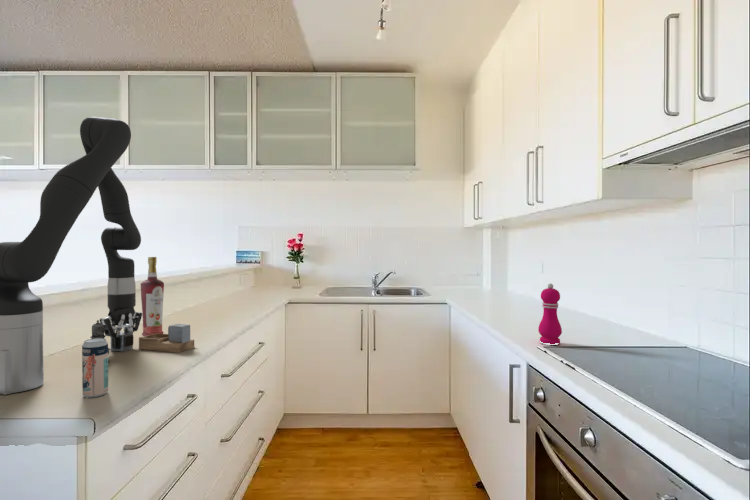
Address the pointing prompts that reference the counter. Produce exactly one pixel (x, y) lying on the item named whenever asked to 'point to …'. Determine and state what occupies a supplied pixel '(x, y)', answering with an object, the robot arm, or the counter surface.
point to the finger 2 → (179, 333)
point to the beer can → (95, 367)
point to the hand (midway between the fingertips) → (122, 347)
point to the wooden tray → (163, 343)
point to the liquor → (152, 301)
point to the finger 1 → (124, 342)
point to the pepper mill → (550, 316)
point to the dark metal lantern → (98, 332)
